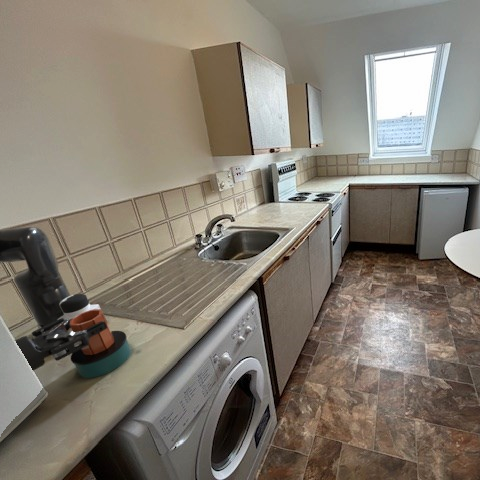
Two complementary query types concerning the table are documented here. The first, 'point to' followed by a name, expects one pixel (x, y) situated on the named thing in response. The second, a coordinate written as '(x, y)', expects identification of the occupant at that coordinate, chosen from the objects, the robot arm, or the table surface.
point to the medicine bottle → (75, 306)
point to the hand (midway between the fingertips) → (97, 319)
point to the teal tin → (103, 357)
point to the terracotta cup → (96, 341)
